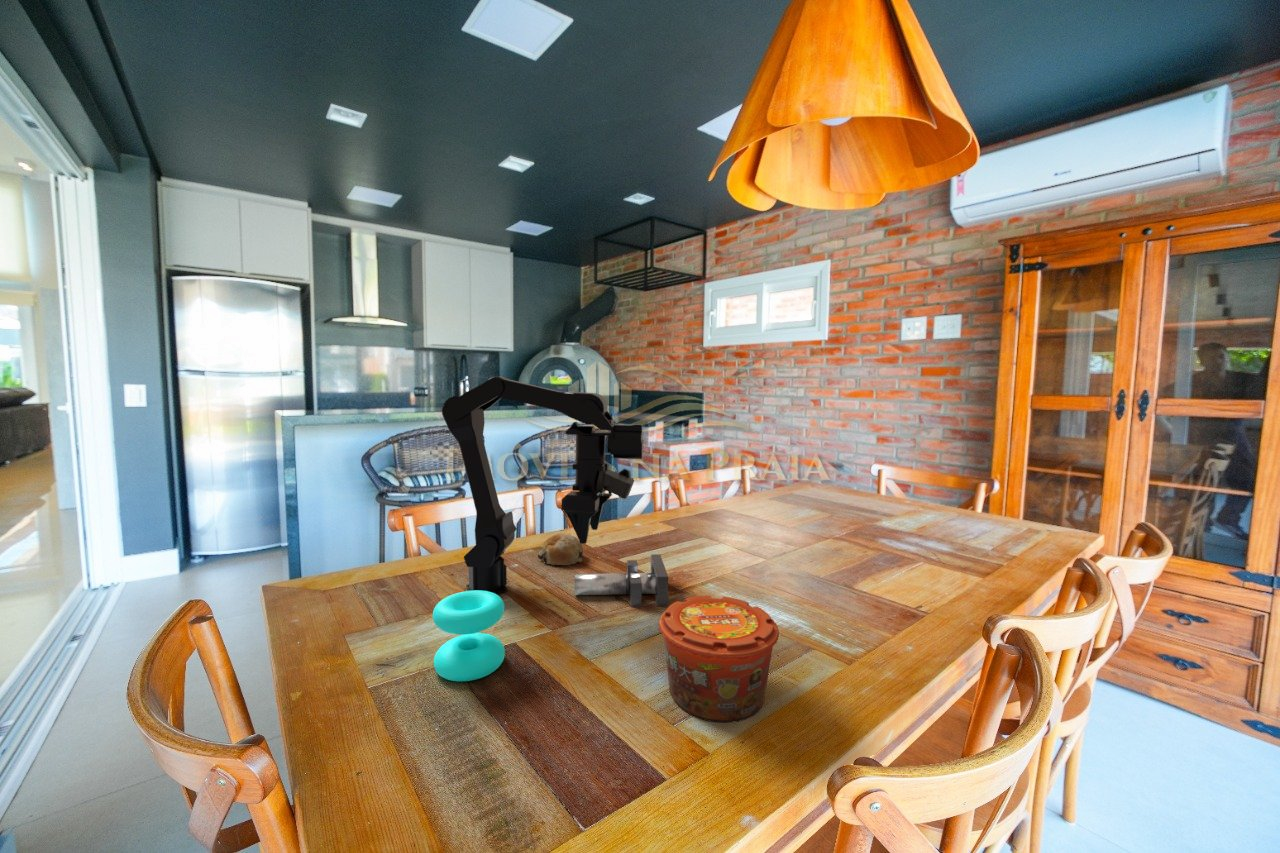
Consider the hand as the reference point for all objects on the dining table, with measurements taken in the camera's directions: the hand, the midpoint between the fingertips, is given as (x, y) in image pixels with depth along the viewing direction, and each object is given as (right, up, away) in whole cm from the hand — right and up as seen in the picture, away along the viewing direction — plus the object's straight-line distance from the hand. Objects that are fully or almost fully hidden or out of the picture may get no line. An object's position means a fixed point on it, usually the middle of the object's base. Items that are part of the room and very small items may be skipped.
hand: (589, 536), depth 102 cm
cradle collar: (+9, -12, +2) cm, 15 cm away
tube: (+5, -12, +2) cm, 13 cm away
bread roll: (-9, -10, +21) cm, 25 cm away
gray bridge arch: (+14, -12, +2) cm, 18 cm away
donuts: (-15, -14, -25) cm, 33 cm away
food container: (+20, -15, -31) cm, 40 cm away
